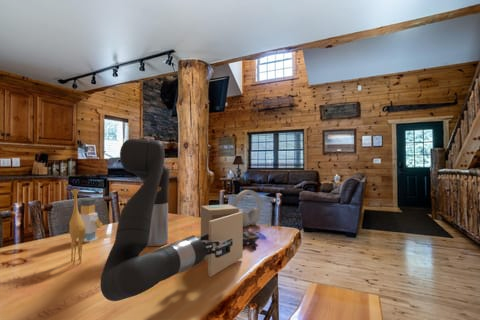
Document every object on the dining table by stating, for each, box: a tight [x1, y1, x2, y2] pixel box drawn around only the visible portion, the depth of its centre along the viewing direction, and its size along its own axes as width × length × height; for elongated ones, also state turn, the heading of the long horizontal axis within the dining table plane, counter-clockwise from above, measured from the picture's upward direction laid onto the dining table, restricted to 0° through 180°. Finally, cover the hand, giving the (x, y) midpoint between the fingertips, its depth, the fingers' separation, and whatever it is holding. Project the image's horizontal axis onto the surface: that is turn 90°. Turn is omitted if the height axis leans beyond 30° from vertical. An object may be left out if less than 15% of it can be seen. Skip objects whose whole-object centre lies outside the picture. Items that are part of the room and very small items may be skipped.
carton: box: [200, 203, 240, 264], centre depth 94 cm, size 11×10×18 cm
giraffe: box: [68, 188, 86, 266], centre depth 90 cm, size 16×4×25 cm, turn 39°
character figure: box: [79, 198, 103, 243], centre depth 114 cm, size 8×10×18 cm
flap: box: [207, 212, 244, 277], centre depth 83 cm, size 18×1×16 cm, turn 148°
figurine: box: [243, 230, 260, 250], centre depth 116 cm, size 13×6×30 cm
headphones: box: [232, 189, 262, 228], centre depth 142 cm, size 19×8×20 cm, turn 127°
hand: (219, 239), depth 80 cm, fingers open, 8 cm apart
